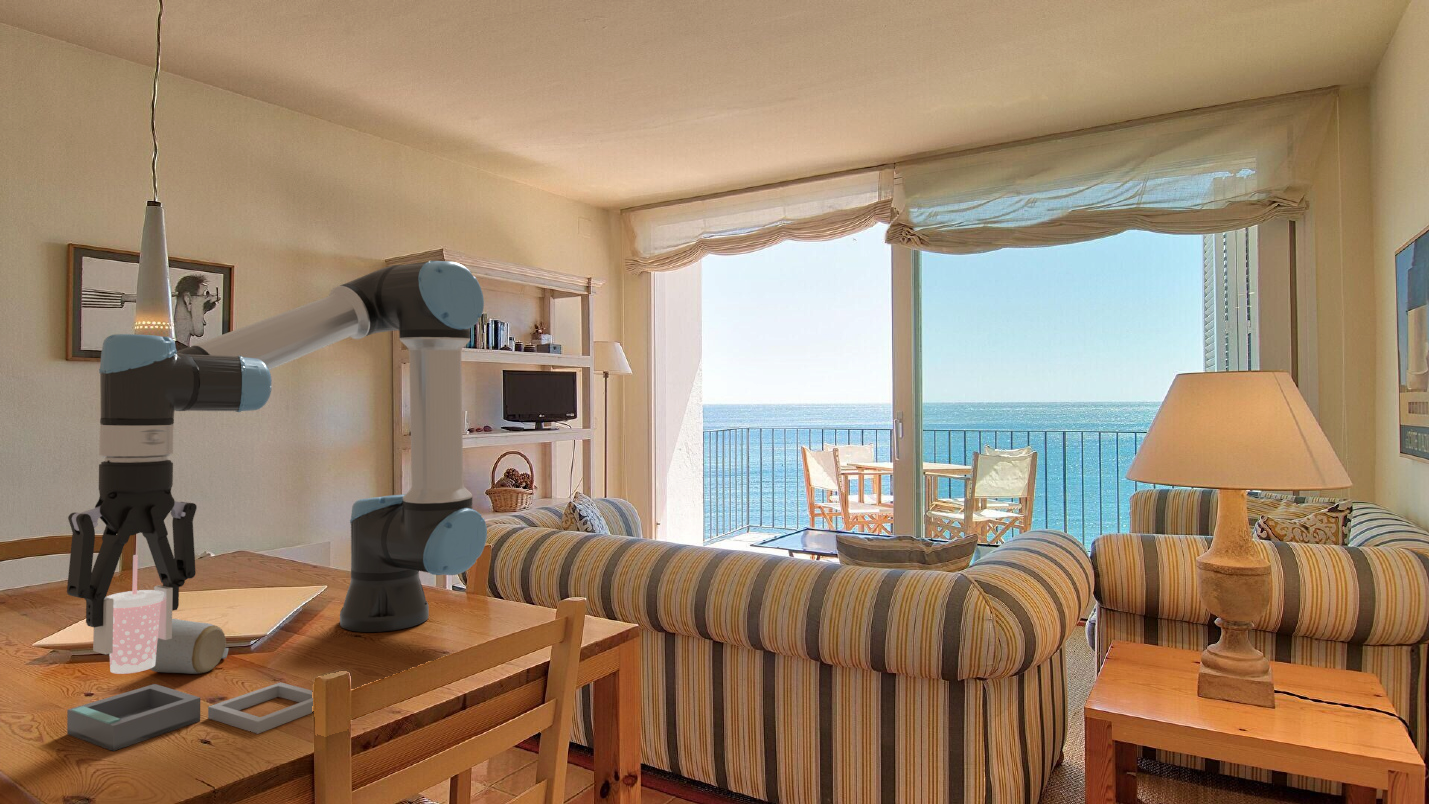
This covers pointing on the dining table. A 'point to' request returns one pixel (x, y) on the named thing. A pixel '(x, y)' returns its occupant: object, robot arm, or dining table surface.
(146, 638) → the beverage cup
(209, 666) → the ceramic mug
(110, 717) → the dark gray open tray
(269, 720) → the gray rectangular frame
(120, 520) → the robot arm
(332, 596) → the dining table surface
